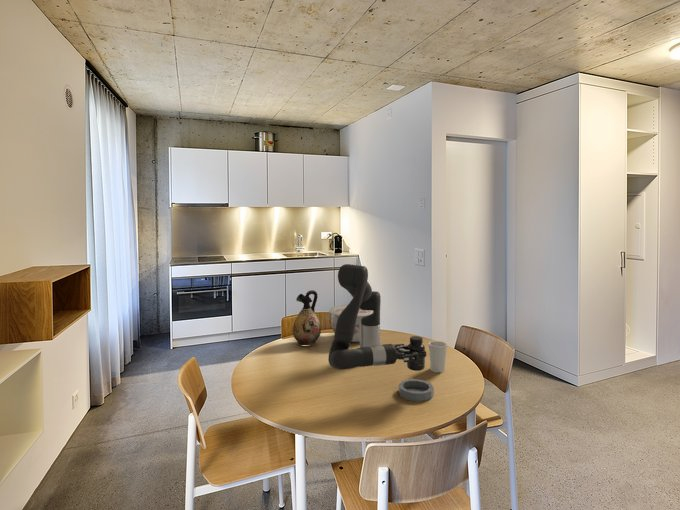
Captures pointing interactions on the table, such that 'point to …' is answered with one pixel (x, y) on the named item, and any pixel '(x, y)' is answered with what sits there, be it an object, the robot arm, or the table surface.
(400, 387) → the dish
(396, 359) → the robot arm
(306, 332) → the ceramic jug
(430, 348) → the cup
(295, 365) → the table surface
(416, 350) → the supplement bottle
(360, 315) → the chamber pot
